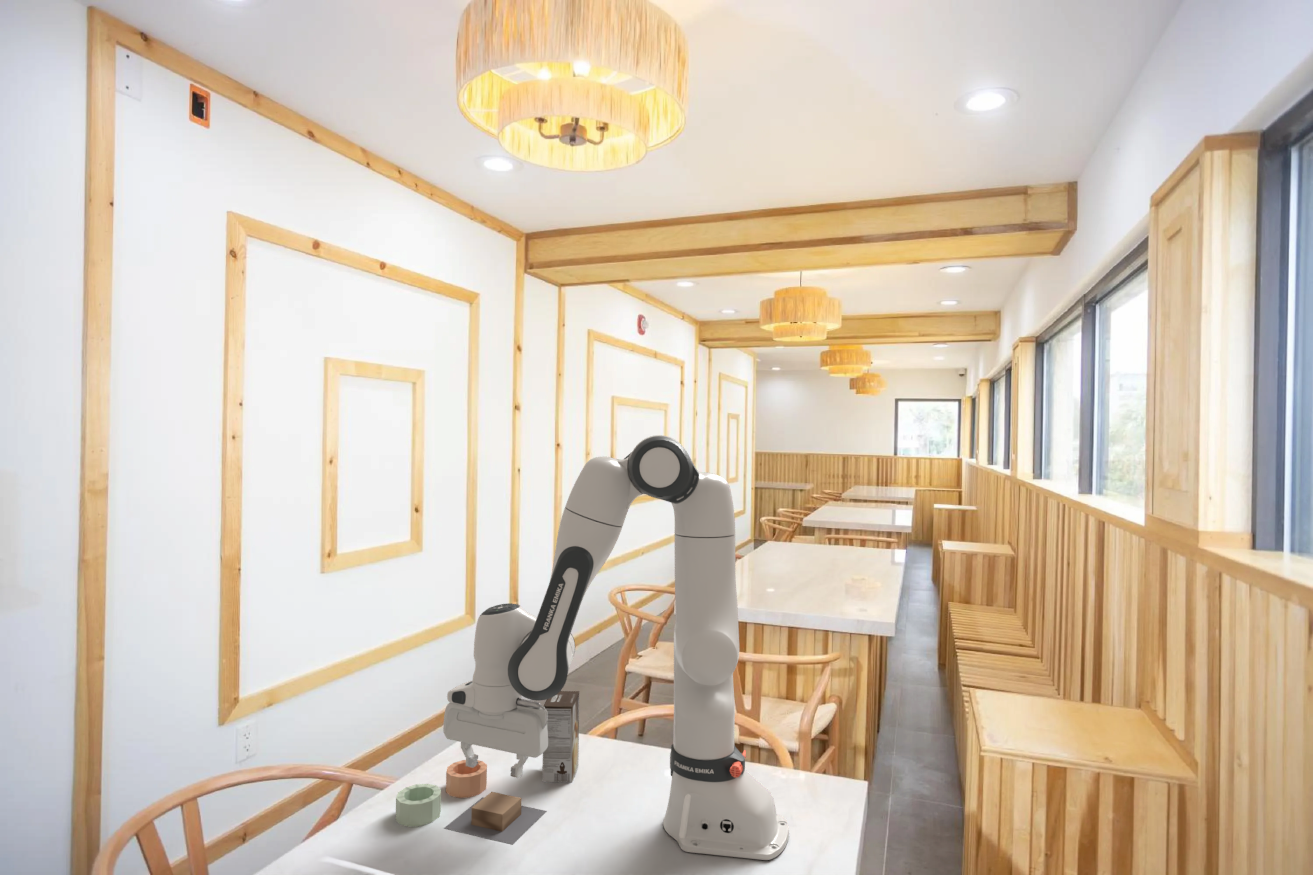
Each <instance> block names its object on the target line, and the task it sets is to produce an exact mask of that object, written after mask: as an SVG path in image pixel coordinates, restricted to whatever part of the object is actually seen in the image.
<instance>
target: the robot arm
mask: <svg viewBox="0 0 1313 875" xmlns="http://www.w3.org/2000/svg"><path fill="white" fill-rule="evenodd" d="M642 495H646V496H649V497H651V498H653V499H654V498H655V499H657V500H661V501H664V502H668V503H671V505H672V508H673V513H674V600H675V601H674V603H675V604H674V606H675V622H674V627H673V737H672V738H673V739H672V740H673V743H672V744H671V746H670V753H669V754H670V755H669V768H670V777H671V784H670V790H669V797H668V802H667V807H666V811H665V814H664V817H663V822H662V825H663V828H664V830H665V831H666V833H667V834H668V835H669V836H671V838H672V839H674V840H675V841H676V842H677V843H678V845H679V847H680V849H681V850H682V851H683V852H686V853H694V854H695V853H696V854H702V855H703V854H706V855H714V856H724V857H732V858H733V857H734V858H741V859H742V858H744V859H751V860H752V859H753V860H763V861H768V860H770V861H771V860H772V859H773V860H774V859H775V858H776V857H779V855H780V854H782V852H783V851H784V850H785V848H786V846H787V843H788V841H789V837H790V827H789V823H788V821H787V818H785V816H783V815H781V814H778V813H777V810H776V809H777V808H776V802H775V800H774V796H773V794H772V792H771V791H770V790H769V789H768V788H767V787H766V786H765V785H763V783H761V781H759V780H757V779H756V778H755V777H754V776H753V775H752V774H751V773H750V772H749V771H748V770H746V757H747V756H746V755H747V753H746V752H747V750H746V749H744V750H743V752H740V750H739V749H738V748H737V747H736V745H735V718H736V717H735V714H736V712H735V710H736V708H735V707H736V703H735V702H736V701H735V692H734V690H735V689H734V672H735V671H736V668H737V666H738V662H739V658H740V631H739V630H740V629H739V611H738V610H739V608H738V595H737V580H736V578H737V577H736V518H735V510H734V509H735V508H734V501H733V496H732V491H731V487H730V484H729V482H728V481H727V480H726V479H725V478H724V477H722V476H720V475H718V474H717V473H713V472H708V471H707V472H702V471H698V470H697V467H696V466H695V463H694V462H693V460H692V459H691V456H690V454H689V453H688V452H687V450H686V448H684V446H683V445H682V444H681V443H680V442H679V441H678V440H676V439H674V438H673V437H671V436H667V435H662V434H657V435H652V436H647V437H646V438H644V439H642V440H641V441H640V442H638V443H637V444H636V446H635V447H634V448H633V450H632V451H631V452H630V453H629V454H628V455H627V456H626V457H624V458H623V459H617V458H615V457H610V456H596V457H593V458H590V459H589V460H588V461H587V462H586V463H585V464H584V466H583V468H582V469H581V472H580V473H579V475H578V476H577V478H576V479H575V482H574V484H573V486H572V488H571V491H570V493H569V496H568V499H567V501H566V504H565V506H564V509H563V513H562V514H561V518H560V522H559V528H558V531H557V538H556V543H555V544H556V545H555V551H554V558H553V565H552V570H551V574H550V579H549V583H548V586H547V589H546V591H545V594H544V597H543V600H542V603H541V606H540V608H539V611H538V614H537V616H536V615H533V614H532V613H530V612H529V611H527V610H525V608H523V606H521V605H520V604H518V603H501V604H497V605H493V606H490V607H488V608H487V609H485V610H484V611H482V613H481V614H480V615H479V616H478V619H477V621H476V625H475V626H476V627H475V631H474V632H475V633H474V641H473V642H474V643H473V659H474V664H475V667H474V672H473V675H472V680H468V681H466V682H464V683H461V684H459V685H457V686H456V687H453V688H452V689H451V690H449V691H448V692H447V696H446V697H447V701H448V703H447V705H446V707H445V708H444V709H445V710H444V716H443V724H442V725H443V727H442V728H443V729H442V732H443V734H444V736H445V738H446V739H447V740H450V741H455V742H460V749H461V751H462V753H463V756H464V757H465V760H466V766H467V767H472V768H474V766H476V765H477V764H478V760H479V755H478V754H476V753H475V751H474V748H473V746H478V747H482V748H483V747H484V748H488V749H492V750H497V751H502V752H505V753H511V754H515V756H516V757H515V758H516V760H518V762H517V763H515V764H513V765H512V766H510V777H512V778H515V779H516V778H517V779H519V778H521V776H522V775H523V772H524V771H523V768H524V765H525V763H526V762H527V761H528V760H529V758H534V759H535V758H538V757H540V756H541V755H543V752H544V751H545V750H546V749H547V747H548V729H547V719H548V713H547V710H546V709H545V707H543V706H544V705H543V704H542V703H541V702H539V701H546V700H547V699H549V698H552V697H553V696H555V695H556V694H558V693H559V692H560V691H563V690H562V689H563V688H564V687H565V686H566V682H567V679H568V675H569V670H570V667H571V665H572V661H573V659H574V657H575V652H576V642H575V639H574V636H573V634H572V631H573V627H574V625H575V621H576V618H577V617H578V612H579V610H580V608H581V604H582V602H583V599H584V597H585V595H586V594H587V591H588V589H589V587H590V585H591V583H592V582H593V581H594V579H595V578H596V576H597V575H598V574H599V572H600V570H601V569H602V568H603V566H604V565H605V564H606V561H607V560H608V558H609V557H610V554H611V553H612V551H613V550H614V548H615V545H616V544H617V542H618V539H619V537H620V534H621V532H622V529H623V526H624V524H625V521H626V519H627V518H626V517H627V516H628V515H627V514H628V512H629V509H630V507H631V505H632V503H633V502H634V501H635V500H636V499H637V498H638V497H640V496H642ZM522 697H523V698H522ZM531 700H532V701H531Z"/></svg>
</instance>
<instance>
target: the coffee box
mask: <svg viewBox="0 0 1313 875" xmlns="http://www.w3.org/2000/svg"><path fill="white" fill-rule="evenodd" d="M543 704H544V705H542V706H543V707H545V709H546V710H547V713H548V719H547V729H548V747H547V749H546V750H545V751H544V752H543V753H542V768H541V769H542V771H541V772H542V776H541V778H542V780H541V781H542V783H567V784H568V783H573V781H574V778H576V774H577V771H578V768H579V754H580V753H579V752H580V750H579V749H580V745H579V740H580V734H579V733H580V732H579V731H580V691H579V690H575V691H574V690H572V691H571V690H561V691H560V692H559V693H558V694H556V695H555V696H553V697H552V698H549V699H546V700H545V702H544V703H543Z"/></svg>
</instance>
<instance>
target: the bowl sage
mask: <svg viewBox="0 0 1313 875" xmlns="http://www.w3.org/2000/svg"><path fill="white" fill-rule="evenodd" d="M441 811H442V789H441V788H440V787H439V786H438V785H436V784H431V783H417V784H413V785H409V786H405V787H404V788H403V789H401V790H400V791H397V795H396V797H395V821H396V823H398V824H399V826H404V827H409V828H411V827H412V828H413V827H422V826H426V825H428V824H431V823H433V822H435V821H436V820H438V818H439V817H440V816H441Z"/></svg>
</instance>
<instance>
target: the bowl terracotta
mask: <svg viewBox="0 0 1313 875" xmlns="http://www.w3.org/2000/svg"><path fill="white" fill-rule="evenodd" d="M477 760H478V764H477V765H476V766H474V768H472V767H467V766H466V759H462V760H459V761H455V762H453V763H451V764H449V765H448V766H447V768H446V772H445V773H446V774H445V775H446V776H445V786H446V787H445V792H446V794H447V795H449V796H450V797H454V798H458V799H463V798H464V799H465V798H472V797H475V796H478V795H481V794H483V792H485V791H486V790H487V786H488V785H487V784H488V764H487V763H486V762H485V761H483V760H479V759H477Z"/></svg>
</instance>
